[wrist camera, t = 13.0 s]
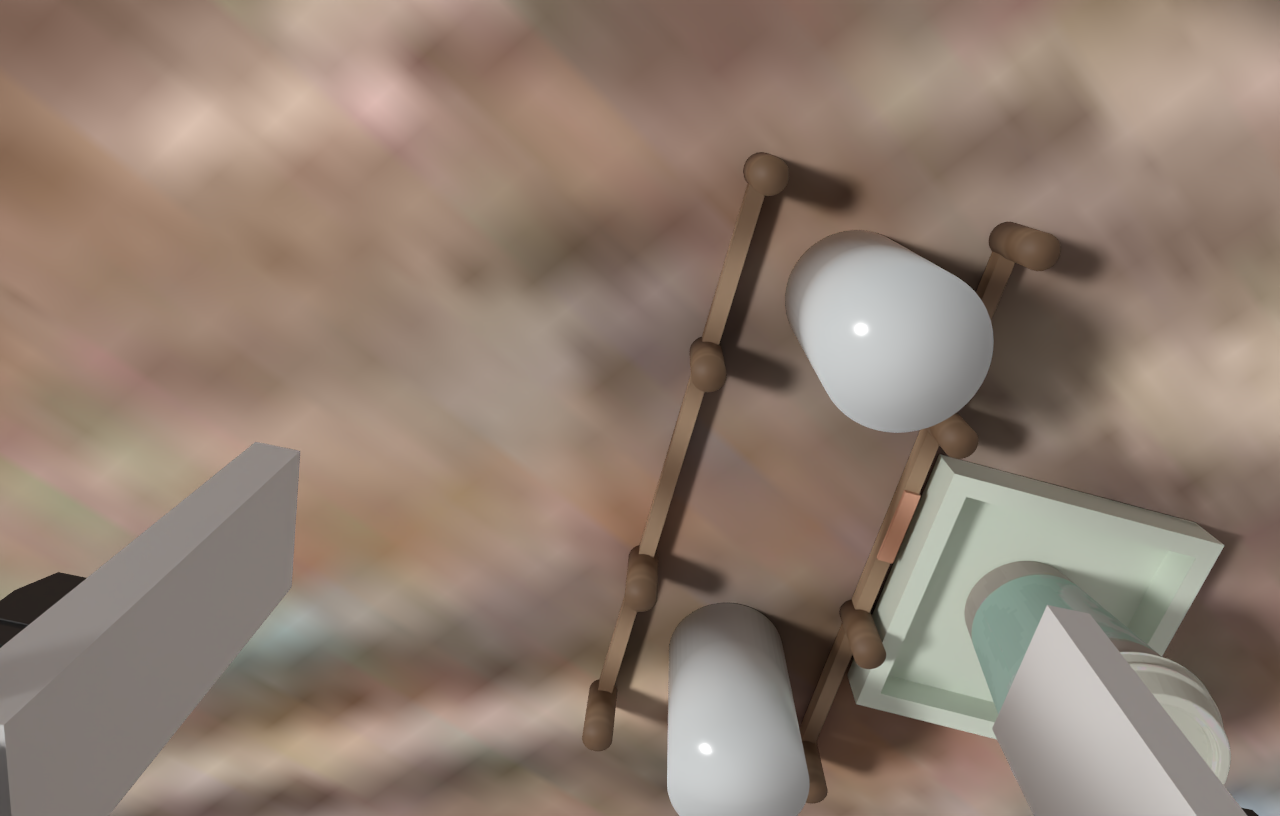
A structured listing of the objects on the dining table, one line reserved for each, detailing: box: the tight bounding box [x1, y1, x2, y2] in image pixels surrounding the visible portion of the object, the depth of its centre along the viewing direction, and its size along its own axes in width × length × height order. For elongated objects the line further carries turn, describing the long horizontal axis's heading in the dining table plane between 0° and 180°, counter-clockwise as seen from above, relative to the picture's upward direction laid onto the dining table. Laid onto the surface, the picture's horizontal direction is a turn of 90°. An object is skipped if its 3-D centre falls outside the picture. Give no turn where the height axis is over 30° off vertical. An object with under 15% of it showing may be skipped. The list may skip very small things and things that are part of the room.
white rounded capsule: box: [667, 603, 809, 816], centre depth 43 cm, size 6×6×10 cm
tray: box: [847, 454, 1225, 739], centre depth 44 cm, size 14×14×2 cm
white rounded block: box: [785, 230, 994, 433], centre depth 36 cm, size 6×6×10 cm
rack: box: [582, 152, 1061, 803], centre depth 42 cm, size 32×14×4 cm, turn 165°
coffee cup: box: [964, 561, 1231, 785], centre depth 39 cm, size 9×8×12 cm
